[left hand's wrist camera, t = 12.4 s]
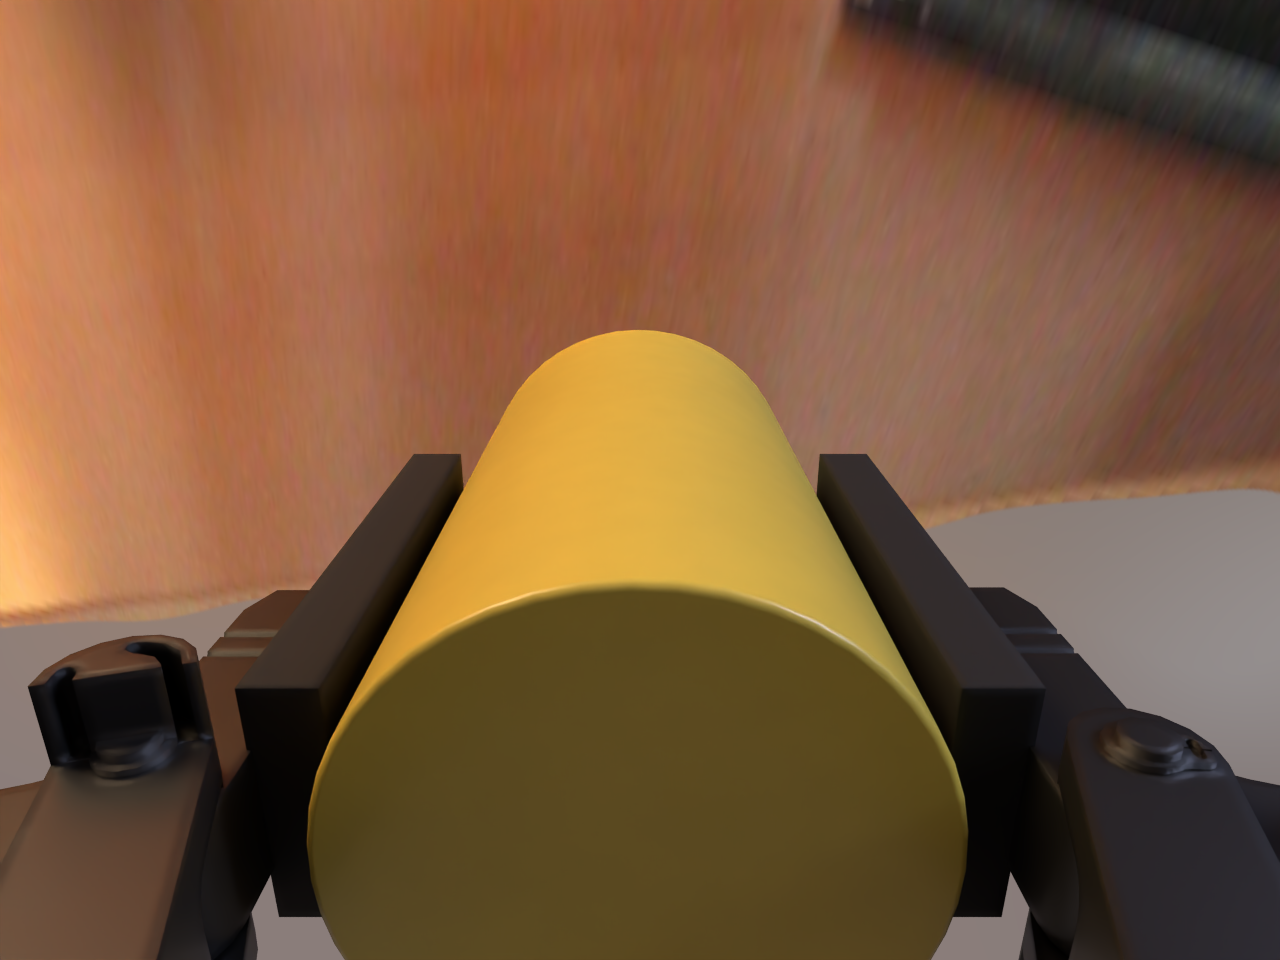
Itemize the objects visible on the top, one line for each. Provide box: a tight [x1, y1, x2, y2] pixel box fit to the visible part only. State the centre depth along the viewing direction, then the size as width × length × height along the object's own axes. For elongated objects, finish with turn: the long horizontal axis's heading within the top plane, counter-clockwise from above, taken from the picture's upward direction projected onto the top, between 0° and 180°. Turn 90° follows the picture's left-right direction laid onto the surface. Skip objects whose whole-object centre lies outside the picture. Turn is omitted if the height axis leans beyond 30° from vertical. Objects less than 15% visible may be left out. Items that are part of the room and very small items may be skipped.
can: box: [307, 330, 968, 960], centre depth 12 cm, size 6×6×10 cm
